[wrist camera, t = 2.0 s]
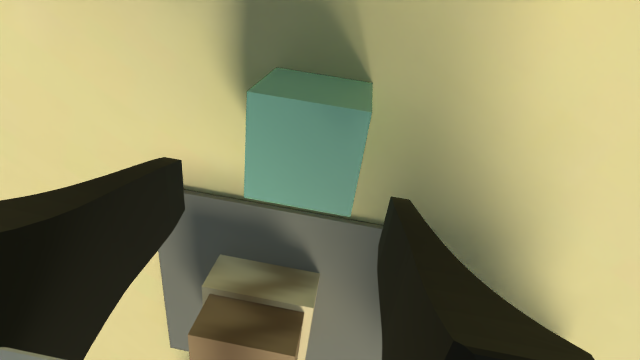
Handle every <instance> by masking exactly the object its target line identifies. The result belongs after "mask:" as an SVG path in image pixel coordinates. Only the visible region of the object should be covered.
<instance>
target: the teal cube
mask: <svg viewBox="0 0 640 360" xmlns="http://www.w3.org/2000/svg"><path fill="white" fill-rule="evenodd" d="M371 114H372V83H370V82H364V81H358V80H352V79H345V78H339V77H333V76H327V75H321V74H314V73H308V72H302V71H296V70H290V69H283V68H277V67H276V68H275V69H274V70H273V71H272V72H270V73H269V74H268V75H267V76H265V77H264V78H263V79H262V80H260V81H259V82H258V83H257V84H256V85H254V86H253V87H252V88H251V89H249V90H248V91H247V107H246V143H245V179H244V198H249V199H254V200H260V201H265V202H271V203H276V204H281V205H287V206H292V207H298V208H303V209H309V210H314V211H320V212H325V213H331V214H336V215H342V216H347V217H350V216H351V211H352V207H353V202H354V197H355V192H356V187H357V182H358V177H359V173H360V168H361V163H362V158H363V153H364V148H365V144H366V139H367V134H368V129H369V124H370V119H371Z"/></svg>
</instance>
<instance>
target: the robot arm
mask: <svg viewBox="0 0 640 360" xmlns="http://www.w3.org/2000/svg"><path fill="white" fill-rule="evenodd" d="M184 211H185V201H184V188H183V175H182V162H181V160H177V159H172V158H166V157H163V158H158V159H154V160H151V161H148V162H144V163H141V164H138V165H135V166H132V167H129V168H126V169H123V170H120V171H117V172H114V173H111V174H108V175H105V176H102V177H99V178H96V179H92V180H89V181H86V182H82V183H79V184H76V185H72V186H69V187H65V188H61V189H57V190H53V191H48V192H44V193H39V194H35V195H30V196H25V197H19V198H13V199H7V200H1V201H0V360H84V358H85V356H86V354H87V352H88V351H89V349H90V347H91V345H92V344H93V342H94V340H95V339H96V337H97V335H98V334H99V332H100V330H101V329H102V327H103V325H104V324H105V322H106V320H107V319H108V317H109V316H110V314H111V313H112V311H113V309H114V308H115V306H116V305H117V303H118V302H119V300H120V299H121V297H122V296H123V294H124V292H125V291H126V290H127V288H128V287H129V286H130V284H131V283H132V282H133V280H134V279H135V278H136V277H137V275H138V274H139V273H140V272H141V271H142V269H143V268H144V267H145V266H146V264H147V263H148V262H149V261H150V259H151V258H152V257H153V256H154V255H155V253H156V252H157V251H158V250H159V248H160V247H161V246H162V245H163V243H164V242H165V241H166V240H167V238H168V237H169V236H170V234H171V233H172V232H173V230H174V228H175V227H176V225H177V223H178V222H179V220H180V218H181V216H182V215H183V213H184ZM377 278H378V291H379V303H380V315H381V327H382V360H594V358H593V357H592V355H591V354H589V353H588V352H586V351H584V350H582V349H581V348H579V347H577V346H575V345H574V344H572V343H570V342H569V341H567V340H565V339H563V338H562V337H560V336H558V335H556V334H555V333H553V332H551V331H550V330H548V329H546V328H545V327H543V326H542V325H540V324H539V323H537V322H536V321H534V320H533V319H531V318H530V317H528V316H527V315H525V314H524V313H522V312H521V311H519V310H518V309H516V308H515V307H514V306H512V305H511V304H509V303H508V302H507V301H505V300H504V299H503V298H501V297H500V296H499V295H498V294H496V293H495V292H494V291H493V290H491V289H490V288H489V287H487V286H486V285H485V284H484V283H483V282H482V281H480V280H479V279H478V278H477V277H476V276H475V275H474V274H473V273H471V272H470V271H469V270H468V269H467V268H466V267H465V266H464V265H463V264H462V263H461V262H460V261H459V260H458V259H457V258H456V257H455V256H454V255H453V254H452V253H451V252H450V251H449V249H448V248H447V247H446V246H445V245H444V244H443V243H442V242H441V240H440V239H439V238H438V237H437V236H436V234H435V233H434V232H433V231H432V229H431V228H430V227H429V226H428V224H427V223H426V222H425V220H424V219H423V218H422V216H421V215H420V214H419V212H418V211H417V209H416V208H415V207H414V205H413V204H412V203H411V201H410V200H408V199H402V198H396V197H391V198H390V202H389V206H388V210H387V214H386V217H385V221H384V225H383V229H382V233H381V237H380V241H379V244H378V260H377Z"/></svg>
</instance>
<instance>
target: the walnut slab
mask: <svg viewBox="0 0 640 360" xmlns="http://www.w3.org/2000/svg"><path fill="white" fill-rule="evenodd" d="M304 313H305V312H300V311H295V310H290V309H285V308H280V307H275V306H270V305H265V304H260V303H255V302H250V301H245V300H240V299H234V298H229V297H224V296H219V295H214V294H209V296H208V298H207V300H206V301H205V303H204V305H203V307H202V309H201V311H200V313H199V315H198V316H197V318H196V320H195V322H194V324H193V326H192V328H191V329H190V331H189V333H188V344H189V356H190V360H297V359H298V352H299V346H300V339H301V332H302V326H303V319H304Z"/></svg>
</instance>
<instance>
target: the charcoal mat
mask: <svg viewBox="0 0 640 360" xmlns="http://www.w3.org/2000/svg"><path fill="white" fill-rule="evenodd" d="M184 201H185V211H184V213H183V215H182V216H181V218H180V220H179V222H178V223H177V225H176V227H175V228H174V230H173V232H172V233H171V234H170V236H169V237H168V238H167V240H166V241H165V242H164V243H163V245H162V246H161V247H160V248H159V250H158V252H159V260H160V268H161V276H162V284H163V292H164V300H165V308H166V316H167V324H168V332H169V340H170V348H175V349H180V350H185V351H189V344H188V333H189V331H190V329H191V328H192V326H193V324H194V322H195V320H196V318H197V316H198V315H199V313H200V311H201V309H202V307H203V303H202V285H203V283H204V281H205V280H206V278H207V276H208V274H209V273H210V271H211V269H212V267H213V266H214V264H215V262H216V260H217V259H218V257H219V255H220V254H221V255H226V256H231V257H236V258H242V259H247V260H252V261H257V262H263V263H268V264H273V265H278V266H284V267H289V268H294V269H299V270H305V271H310V272H315V273H320V277H319V283H318V289H317V295H316V300H315V306H314V312H313V318H312V324H311V330H310V336H309V342H308V347H307V352H306V358H305V360H382V327H381V315H380V303H379V291H378V278H377V260H378V244H379V241H380V237H381V233H382V229H383V226H382V225H377V224H371V223H366V222H360V221H355V220H349V219H344V218H338V217H333V216H327V215H322V214H316V213H311V212H305V211H300V210H294V209H289V208H283V207H278V206H272V205H267V204H261V203H256V202H250V201H245V200H239V199H234V198H228V197H223V196H217V195H211V194H206V193H200V192H195V191H189V190H184Z"/></svg>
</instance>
